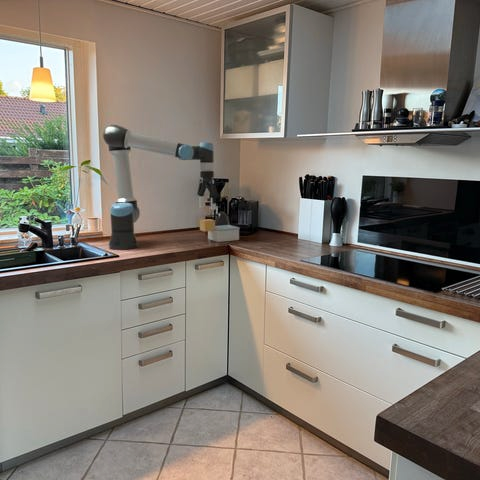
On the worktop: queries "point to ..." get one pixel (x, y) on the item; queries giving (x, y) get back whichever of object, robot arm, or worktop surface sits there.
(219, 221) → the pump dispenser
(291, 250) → the worktop surface
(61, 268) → the worktop surface
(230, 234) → the tub
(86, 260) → the worktop surface
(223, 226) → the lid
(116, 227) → the robot arm
